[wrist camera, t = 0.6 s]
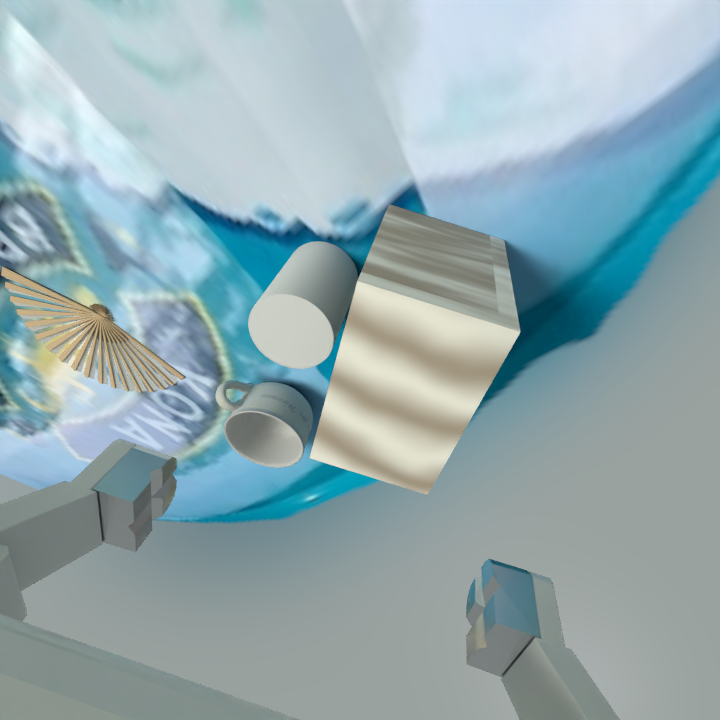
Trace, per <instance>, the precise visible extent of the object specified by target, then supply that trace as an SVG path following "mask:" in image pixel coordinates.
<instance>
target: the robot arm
mask: <svg viewBox="0 0 720 720" xmlns="http://www.w3.org/2000/svg"><path fill="white" fill-rule="evenodd" d="M176 468H177V460H176V458H174V457H171V456H168V455H166V454H163V453H160V452H157V451H154V450H152V449H149V448H146V447H143V446H140V445H137V444H134V443H131V442H128V441H125V440H122V439H118V440H116V441H114V442H112V443H111V444H110V445H109V446H108V447H107V448H106V449H105V450H104V451H103V452H102V453H101V454H100V455H99V456H98V457H97V458H96V459H95V460H94V461H92V462H91V463H90V464H89V465H88V466H87V467H86V468H85V469H84V470H83V471H82V472H81V473H80V474H79V475H78V476H77V477H76V478H75V479H74V480H73V481H72V482H66V481H63V482H61V483H58V484H55V485H52V486H50V487H47V488H44V489H41V490H39V491H36V492H33V493H30V494H28V495H25V496H22V497H19V498H17V499H14V500H11V501H8V502H6V503H3V504H0V720H299V719H296V718H293V717H291V716H288V715H285V714H282V713H280V712H277V711H274V710H271V709H268V708H265V707H263V706H260V705H257V704H254V703H251V702H248V701H246V700H243V699H240V698H237V697H234V696H232V695H229V694H226V693H223V692H220V691H217V690H215V689H212V688H209V687H206V686H203V685H201V684H198V683H195V682H192V681H189V680H186V679H184V678H181V677H178V676H175V675H172V674H169V673H167V672H164V671H161V670H158V669H155V668H152V667H150V666H147V665H144V664H141V663H138V662H136V661H133V660H130V659H127V658H124V657H121V656H118V655H116V654H113V653H110V652H107V651H104V650H102V649H99V648H96V647H93V646H90V645H87V644H85V643H81V642H79V641H76V640H73V639H70V638H68V637H65V636H62V635H59V634H56V633H53V632H51V631H48V630H45V629H42V628H39V627H36V626H33V625H31V624H28V623H25V622H22V621H23V620H24V618H25V617H26V616H27V614H26V607H25V603H24V600H23V597H22V593H21V591H22V590H24V589H25V588H27V587H29V586H31V585H32V584H34V583H36V582H38V581H39V580H41V579H43V578H45V577H46V576H48V575H50V574H51V573H53V572H55V571H57V570H59V569H60V568H62V567H64V566H65V565H67V564H69V563H71V562H72V561H74V560H76V559H77V558H79V557H81V556H83V555H85V554H86V553H88V552H90V551H92V550H93V549H95V548H97V547H98V546H100V545H102V544H103V543H102V542H105V543H108V544H111V545H114V546H118V547H121V548H124V549H127V550H130V551H134V552H136V551H137V550H138V548H139V547H140V546H141V544H142V543H143V542H144V540H145V539H146V538H147V536H148V535H149V533H150V532H151V531H152V521H153V520H155V519H157V518H159V517H161V516H163V514H164V513H165V512H166V510H167V509H168V507H169V506H170V503H171V501H172V499H173V497H174V495H175V490H176V482H177V480H176V479H175V477H174V476H173V474H172V473H173V472H174V471H175V470H176ZM466 617H467V619H468V621H469V622H470V624H471V626H472V627H471V629H470V631H469V632H468V634H467V635H466V641H467V642H466V646H467V647H466V648H467V664H468V665H470V666H473V667H476V668H479V669H481V670H484V671H486V672H489V673H492V674H494V675H497V676H500V677H502V682H503V684H504V686H505V688H506V691H507V693H508V695H509V697H510V699H511V702H512V704H513V706H514V708H515V710H516V712H517V715H518V717H519V719H520V720H620V719H619V718H618V717H617V715H616V714H615V712H614V711H613V709H612V708H611V706H610V705H609V703H608V702H607V700H606V699H605V697H604V696H603V695H602V693H601V692H600V691H599V689H598V687H597V686H596V684H595V683H594V682H593V680H592V679H591V677H590V676H589V674H588V673H587V671H586V670H585V669H584V667H583V665H582V664H581V663H580V661H579V660H578V658H577V657H576V655H575V654H574V652H573V651H572V650H571V649H569V648H566V647H565V644H564V638H563V634H562V628H561V623H560V618H559V612H558V607H557V602H556V597H555V591H554V586H553V582H552V581H551V579H550V578H547V577H544V576H541V575H538V574H535V573H532V572H528V571H527V570H524V569H520V568H517V567H514V566H511V565H507V564H504V563H501V562H498V561H494V560H491V559H488V560H486V561H485V563H484V564H483V566H482V576H479V577H476V578H475V579H474V581H473V583H472V585H471V587H470V590H469V594H468V598H467V606H466Z"/></svg>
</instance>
